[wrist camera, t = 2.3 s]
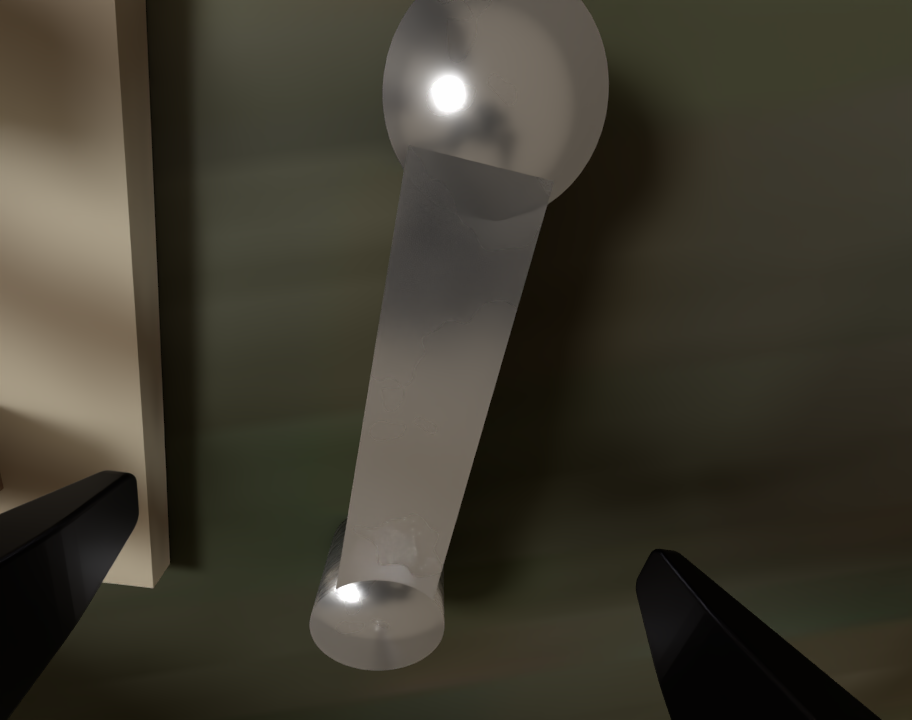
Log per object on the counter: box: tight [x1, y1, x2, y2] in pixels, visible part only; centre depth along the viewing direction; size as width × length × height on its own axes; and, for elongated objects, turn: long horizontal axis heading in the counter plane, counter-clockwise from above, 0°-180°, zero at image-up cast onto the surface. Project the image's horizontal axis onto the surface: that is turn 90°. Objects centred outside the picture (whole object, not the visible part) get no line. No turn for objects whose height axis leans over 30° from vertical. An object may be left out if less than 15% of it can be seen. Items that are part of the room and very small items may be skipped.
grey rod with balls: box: [310, 0, 609, 671], centre depth 12 cm, size 18×4×3 cm, turn 167°
